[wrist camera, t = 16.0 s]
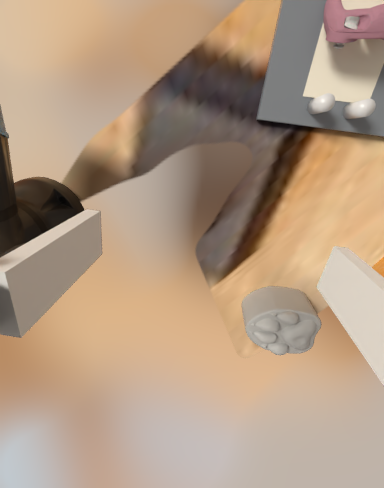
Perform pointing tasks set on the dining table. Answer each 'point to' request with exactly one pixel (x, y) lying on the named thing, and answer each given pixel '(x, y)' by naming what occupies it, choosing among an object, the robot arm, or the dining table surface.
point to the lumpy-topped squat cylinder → (280, 319)
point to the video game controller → (352, 23)
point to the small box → (379, 267)
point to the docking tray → (323, 74)
